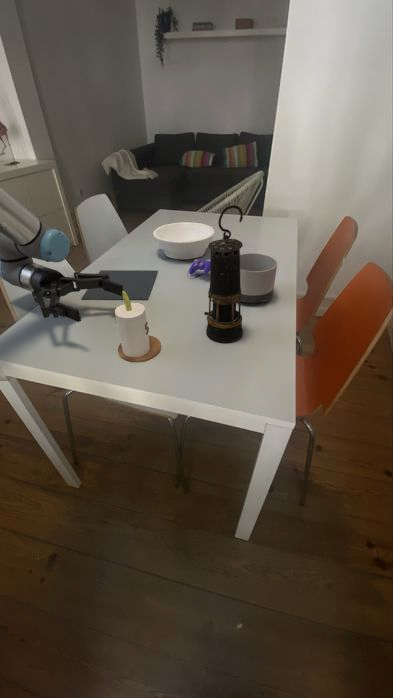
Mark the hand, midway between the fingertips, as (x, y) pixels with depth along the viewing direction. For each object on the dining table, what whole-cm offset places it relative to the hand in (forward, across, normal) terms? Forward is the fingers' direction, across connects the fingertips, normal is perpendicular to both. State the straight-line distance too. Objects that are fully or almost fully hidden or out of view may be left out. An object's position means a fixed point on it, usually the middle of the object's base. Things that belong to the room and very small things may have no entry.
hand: (101, 302), depth 73 cm
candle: (+10, +1, -9) cm, 13 cm away
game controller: (+2, -42, -10) cm, 43 cm away
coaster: (+10, 0, -9) cm, 14 cm away
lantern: (+24, -16, -10) cm, 30 cm away
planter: (+21, -37, -10) cm, 43 cm away
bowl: (-15, -54, -10) cm, 57 cm away
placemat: (-17, -23, -9) cm, 30 cm away
